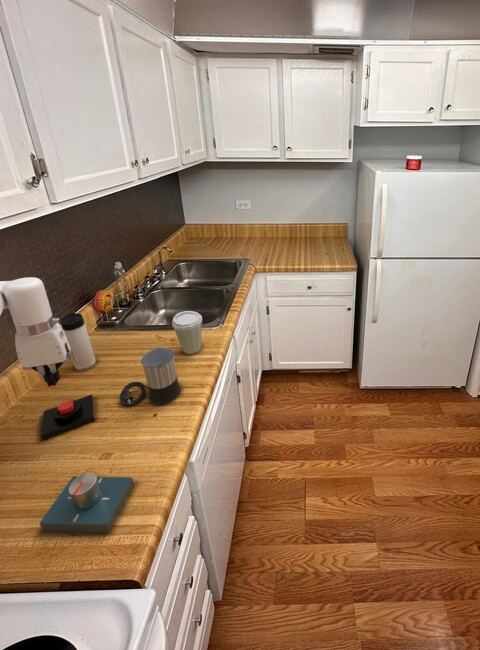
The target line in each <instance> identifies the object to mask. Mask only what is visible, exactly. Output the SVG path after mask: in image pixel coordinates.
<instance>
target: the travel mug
mask: <svg viewBox="0 0 480 650" xmlns="http://www.w3.org/2000/svg"><path fill="white" fill-rule="evenodd" d="M60 326H61V327H62V329H63V331H64V333H65V335H66V337H67V339H68V342H69V344H70V348H71V352H70V353H69V354H70V356H71V357H72V360H71V361H72V363H73V365H74V369H75V370H76V371H78V372H82V371H87V370H90V369H92V368H93V367H94V366H95V365H96V364H97V360H96V357H95V353H94V350H93V346H92V343H91V340H90V336H89V333H88V330H87V329H88V328H87V326H86V322H85V320H84V317H83V314H81V313H77V312H70V313H68V314H67V315H65V316H63V317H62V318H60Z"/></svg>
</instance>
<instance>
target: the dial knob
mask: <svg viewBox="0 0 480 650" xmlns="http://www.w3.org/2000/svg"><path fill="white" fill-rule="evenodd" d="M97 477H98V476H97V475H96V473H94V472H92V471H88V472H84V473H82V474H80V475H78V477H77V478H76V479H74V481H73V482H72V483H71V484H70V486H69V494H70V496H71V498H72V501H73V503H74V506H75V508H76V509H77V510H80V511H83V510H87V509H89V508H91V507H92V506H94V505H95V504H96V503H97V502H98V500H99V499H100V497H101V494H102V491H101V488H100V485H99V482H98V479H97Z"/></svg>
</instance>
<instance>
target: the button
mask: <svg viewBox="0 0 480 650" xmlns="http://www.w3.org/2000/svg"><path fill="white" fill-rule="evenodd" d="M57 407H58V411H59V413H60V414H61V415H64V414H67V413H69V412H71V411H72V410H73V409H74V407H75V406H74V404H73V401H71V400H64V401H63V402H61V403H60V404H59V405H58V406H57Z"/></svg>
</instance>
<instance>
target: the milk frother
mask: <svg viewBox="0 0 480 650" xmlns="http://www.w3.org/2000/svg"><path fill="white" fill-rule="evenodd" d="M174 356H175V352H174V351H173V350H172V349H171V348H169V347H157V348H156V347H155V348H153V349H151V350H149V351H148V352H146V353H145V354H143V356H142V357H141V359H140V363H141V366H142V368H143V371H144V375H145V380H146V383H147V385H146V384H144V383H142V382H140V381H132V382H129V383H128V384H126V385H125V386H124V387H123V388H122V389H121V391H120V394H119V402H120V403H121V405H123V406H127V407H130V406H133V405H137V404H139V403H140V402H141V401H142V400H143V399H144V397H145V396H146V390H148V394H149V402H150V403H151V404H153V405H156V406H163V405H167V404H169V403H172V402H173V401H175V400H176V399H177V398H178V397H179V396H180V394H181V392H182V389H181V386H180V383H179V378H178V374H177V367H176V362H175V358H174ZM135 387H137V388H139V389H140V390H141V392H140V394H139V396H138V397H137V398H136V399H134V400H133V396H132V395H131V392H130V389H131V388H135Z"/></svg>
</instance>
